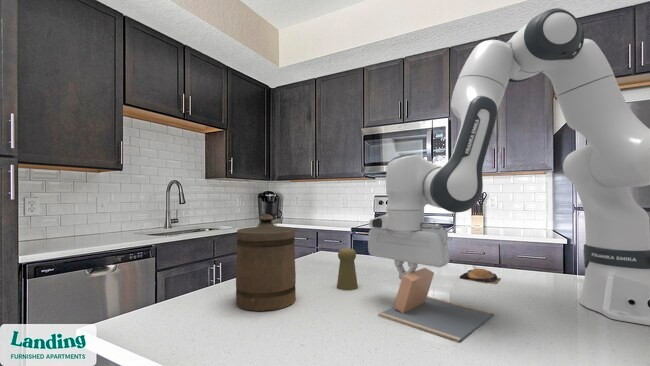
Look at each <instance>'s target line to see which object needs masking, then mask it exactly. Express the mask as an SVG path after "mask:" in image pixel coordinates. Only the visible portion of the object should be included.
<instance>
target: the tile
mask: <svg viewBox="0 0 650 366" xmlns="http://www.w3.org/2000/svg"><path fill="white" fill-rule="evenodd" d="M434 274H435V272H434V271H432V270H431V269H428V268H427V267H423V268H421V269H416V270H415V271H414V272H411V273H408V274H406V275H403V276H402V279H400V280H401V281H400V284H399V287H398V291H397V294H396V298H395V302H394V305H393V307H394V308H396V309H397V310H399V311H400V312H402V313H405V312H407V311H409V310H411V309H413V308H415V307H417V306H419V305H421V304H423V303H425V301H426V298H427V296H428V294H429V292H430V288H431V284H432V282H433V278H434Z"/></svg>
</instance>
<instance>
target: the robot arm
mask: <svg viewBox="0 0 650 366" xmlns="http://www.w3.org/2000/svg"><path fill="white" fill-rule="evenodd" d="M540 73H542V74H544V75H545V76H547V78H548V79H549V80H550V82H551V84H552V88H553V90H554V94H555V96H556V99H557V103H558V104H559V107H560V109H561V112H562V114H563V115H562V116H563V117H564V120H565V122H566V124H567V126H568V127H569V128H570V129H572V130H574V131H576V132H577V133H579V134H580V135H582V136H583V138H585V139H586V140H587V143H589V144H586V145H583V146H581V147H579V148H577V149H575V150H574V151H571V152H569V154H567V156H566V157H565V159H564V161H563V163H562V171H563V174H564V176H565V177H566V178H567V180H568V181H570V182H571V183H572V185H573V186H574V187H575V190H576V192H577V194H578V197H579V200H580V203H581V206H582V209H583V213H584V228H585V244H584V245H583V248H582V250H583V251H582V254H583V255H582V256H583V259H582V260H583V265H584V268H585V270H584V272H585V273H584V281H583V286H582V289H581V290H582V291H581V293H580V296H579V299H578V302H579V304H580V305H582V306H584V307H585V308H587V309H589V310H592V311H594V312H598V313H600V314H602V315H604V316H605V317H606V318H609V319H612V320H616V321H621V322H628V323H632V324H633V323H634V324H639V325H646V326H650V216H649V214H648V212H647V211H646V210H645V209H644V208H643V207H641V206H640V205H639V204H638V203H637V202H636V201H635V199H634V197H633V195H632V192H631V190H630V188H634V187H637V188H639V187H646V186H650V128H649V127H648V126H646V125H645V124H644V123H643V122H642V121H641V120H640V119H639V118H638V117H637V116H636V115H635V114H634V112H633V111H632V110H631V108H630V107H629V105H628V104H627V102H626V100H625V98H624V95H623V93H622V91H621V89H620V85H619V84H618V82H617V81H618V80H617V78H616V77H615V74H614V71H613V69H612V67H611V65H610V62H608V59H607V57H606V55H605V54H604V52H603V51H602V50H601V48H600V47H599V46H598V44H597V43H596V42H595V41H594V40H592V39H591V38H590V39H589V38H585V34H584V31H583V28H582V25H581V23H580V22H579V20H578V18H577V17H576V16H575V15H574V14H573V13H571V12H569V11H568V10H566V9H564V8H557V7H556V8H550V9H547V10H545V11H543V12H541V13H539V14H538V15H536V16H534V17H533V18H531V20H530V21H529V22H528V23H526V24H525V25H524V26H522V27H521V28H520V29H518V31H516V32H515V33H514V34H513V35H512V37H511V38H510V39H509V40H508V41H507V42H505V41H502V40H497V39H489V40H488V39H487V40H484V41H482V42H480V43H478V44H477V45H476V46H475V47H473V50H472V51H471V53H470V54H469V56H468V57H467V59H466V61H465V63H464V64H463V66H462V68H461V71H460V73H459V76H458V78H457V80H456V83H455V85H454V88H453V92H452V96H451V101H450V108H451V111H452V113H453V114H454V115H455V117H456V118H457V119H458V120H460V128H459V132H458V135H457V138H456V141H455V143H454V148H453V150H452V152H451V156H450V158H449V160H448V161H447V162H446V163H445V164H444V165H442V166H440V165H438V164H436V163H433V162H431V161H429V160H427V159H426V158H424V157H422V156H421V155H420V154H419V153H408V154H406V153H405V154H403V155H398V156H395V157H393V158H392V159H391V160H390V161H389V162H388V164H387V166H386V167H387V168H386V174H385V193H386V196H387V197H386V198H387V204H386V209H385V210H386V211H385V213H386V214H382V215H380V216H378V217H374V218H371V219H369V220H368V221H369V224H368V225H369V228H371V229H370V230H369V231H368V236H367V238H368V240H367V250H368V253H369V254H370V256H371V257H376V258H383V259H387V260H392V261H394V266H395V268H396V270H397V272H398V279H399V280H402V276H403V275H406V274H408V273H411V272H414V271H417V268H418V266H419V265H422V266H423V265H424V266H429V267H435V268H443V267H445V266H447V265H448V263H450V252H449V251H450V250H449V246H448V239H449V236H448V231H447V228H445V227H444V226H442V224H439V223H429V222H425V206H426V205H430V206H431V207H434V208H435V207H436V208H439V209H444V210H445V211H447V212H451V213H463V212H466V211H469V210H471V209H472V208H474V207H475V205H477V204H478V203H479V201H480V199H481V197H482V194H483V187H484V185H483V184H484V181H483V168H484V167H483V166H484V162H485V160H486V159H485V158H486V155H487V152H488V148H489V145H490V141H491V138H492V135H493V133H494V128H495V124H496V120H497V115H498V112H499V111H498V110H499V108H500V106H501V103H502V100H503V98H504V95H505V94H506V93H505V92H506V89H507V86H508V84H518V83H522V82H524V81H527V80H529V79H531V78H532V77H533V76H536V75H538V74H540ZM405 262H406V263H407V267H409V269H408V271H407V270H405V267H404V265H403V264H405Z"/></svg>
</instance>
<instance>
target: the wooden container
mask: <svg viewBox="0 0 650 366" xmlns="http://www.w3.org/2000/svg"><path fill="white" fill-rule="evenodd" d="M273 220H274V216H273V215H271V214H270V213H262V214H261V215H259V221H260V222H259V223H258V225H256V226H253V227H251V226H250V227H243V228H239V229H237V231H236V260H235V261H236V263H235V296H236V297H235V304H236V305H237V307H239V308H240V309H243V310H246V311H252V312H269V311H276V310H280V309H284V308H286V307H289V306H291V305H292V304H294V303H295V302H296V296H297V295H296V291H297V290H296V288H297V287H296V281H297V279H296V277H297V276H296V274H297V273H296V254H295V253H296V251H295V248H296V247H295V239H296V238H295V237H296V233H295V232H296V231H295V228H293V227H289V226H276V225H275V224H274V223H273Z"/></svg>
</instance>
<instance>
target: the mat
mask: <svg viewBox="0 0 650 366" xmlns="http://www.w3.org/2000/svg"><path fill="white" fill-rule="evenodd" d="M377 315H378V317H381V318H384V319H387V320H391V321H393V322H397V323H399V324H403V325H406V326H408V327H411V328H414V329H417V330H421V331H424V332H427V333H430V334H433V335H435V336H439V337H442V338H444V339H448V340H451V341H454V342H456V343H461V342H462V341H464V340H465V339H466V338H468V336H469V335H471V334H472V333H474V331H476V330H477V329H478V328H480V327H481V326H482V325H483V324H484V323H486V322H487V321H489V320H490V319H491V318H492V317H493V316H495V313H494V312H492V311H488V310H485V309H480V308H476V307H472V306H467V305H464V304H459V303H457V302H456V303H455V302H452V301H447V300H443V299H439V298H435V297H431V296H428V295H427V298H426V301H425V303H423V304H421V305H419V306H417V307H415V308H413V309H411V310H409V311H407V312H405V313H402V312H400V311H399V310H397V309H396V308H394V306H392V307H389V308H388V309H386V310H383V311H382V312H378V314H377Z"/></svg>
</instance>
